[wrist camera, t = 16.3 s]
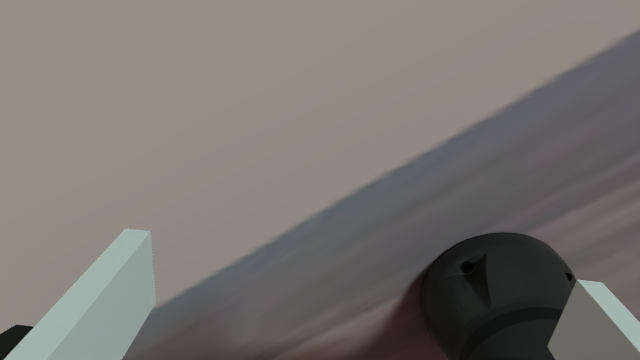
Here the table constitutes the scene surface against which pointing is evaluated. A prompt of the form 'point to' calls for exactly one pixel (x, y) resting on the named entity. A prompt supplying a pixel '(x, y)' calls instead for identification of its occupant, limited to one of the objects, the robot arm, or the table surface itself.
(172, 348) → the table surface
